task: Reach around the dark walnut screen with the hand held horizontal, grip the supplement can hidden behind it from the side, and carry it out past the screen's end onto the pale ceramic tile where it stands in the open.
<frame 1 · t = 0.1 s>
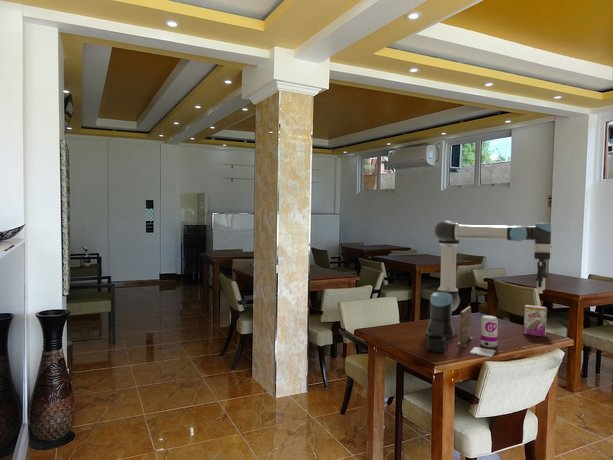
hand: (540, 291, 238), 28 cm above the table, tool pointing down, fingers open, 13 cm apart
tile: (482, 352, 223), on the table
screen: (465, 342, 240), on the table
supplement can: (488, 345, 235), on the table
candy bar box: (534, 335, 256), on the table
mug: (438, 352, 224), on the table
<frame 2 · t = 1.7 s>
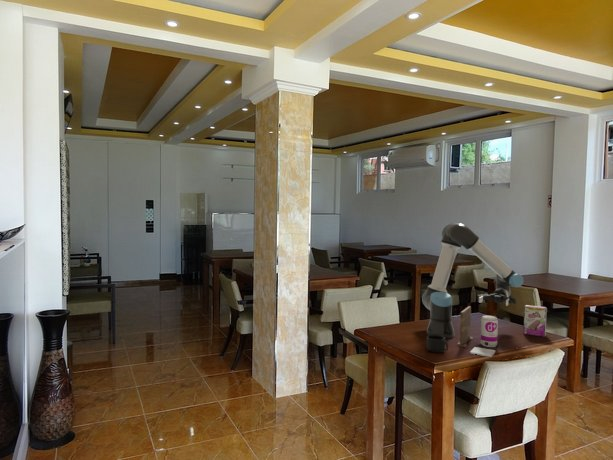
hand: (493, 301, 242), 22 cm above the table, tool horizontal, fingers open, 13 cm apart
nothing on the table moved.
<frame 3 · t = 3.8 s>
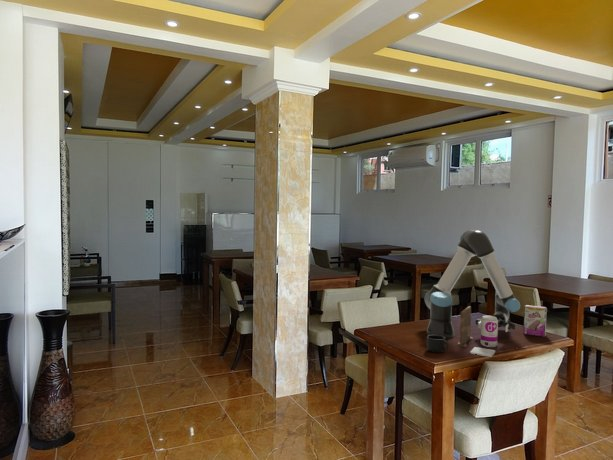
hand: (492, 327, 239), 8 cm above the table, tool horizontal, fingers open, 13 cm apart
nothing on the table moved.
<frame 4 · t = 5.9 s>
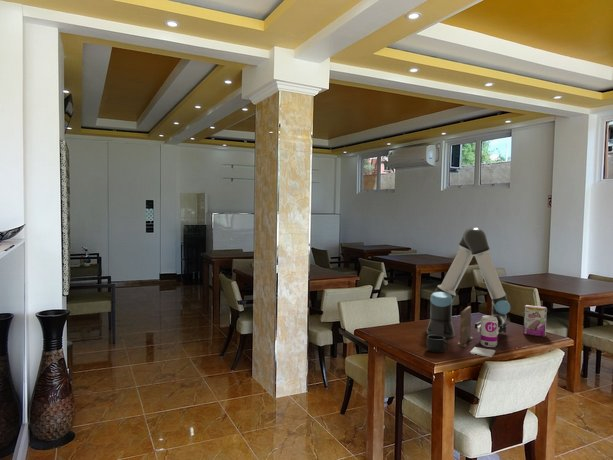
hand: (487, 331, 231), 9 cm above the table, tool horizontal, fingers closed on supplement can, 8 cm apart
supplement can: (488, 345, 235), on the table, touching gripper
everything else where it was.
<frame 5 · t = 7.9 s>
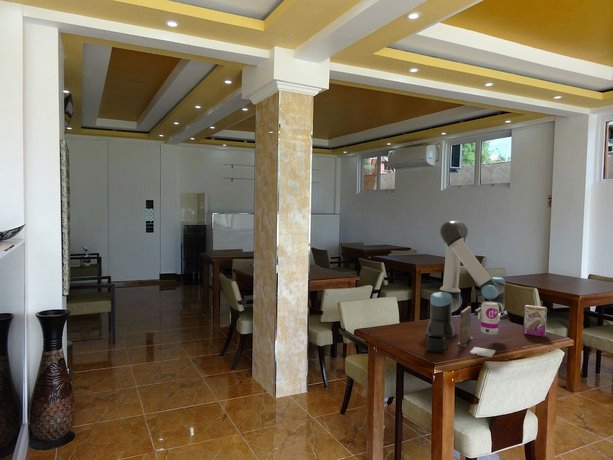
hand: (488, 317, 221), 18 cm above the table, tool horizontal, fingers closed on supplement can, 8 cm apart
supplement can: (489, 332, 225), point 9 cm above the table, touching gripper
everything else where it was.
when the fingers open (10 cm above the table, at t = 10.1 s): supplement can stays where it is, resting on tile.
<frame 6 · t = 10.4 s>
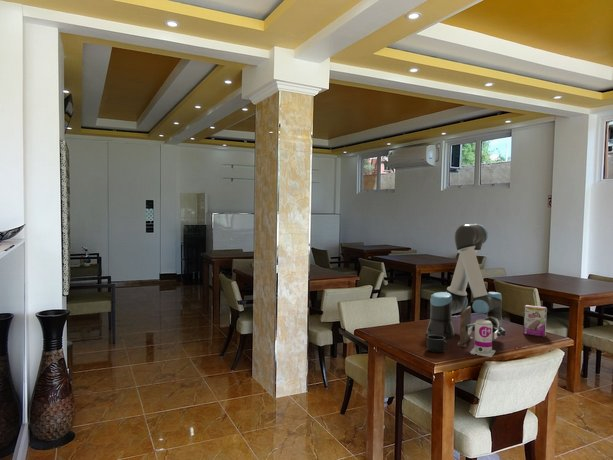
hand: (481, 333, 219), 10 cm above the table, tool horizontal, fingers open, 11 cm apart
supplement can: (482, 351, 223), point 1 cm above the table, touching tile
everything else where it was.
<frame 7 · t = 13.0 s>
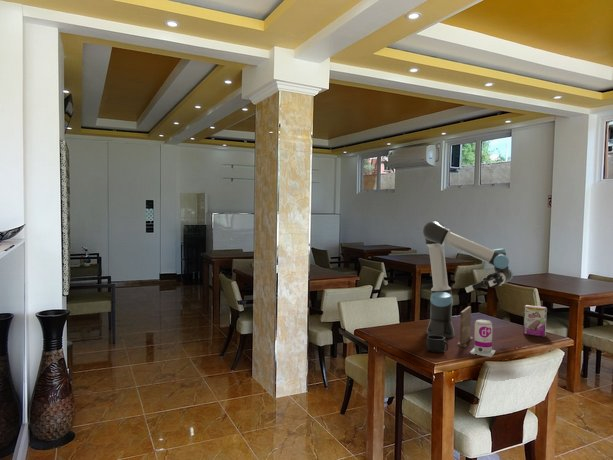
hand: (477, 287, 234), 31 cm above the table, tool horizontal, fingers open, 13 cm apart
nothing on the table moved.
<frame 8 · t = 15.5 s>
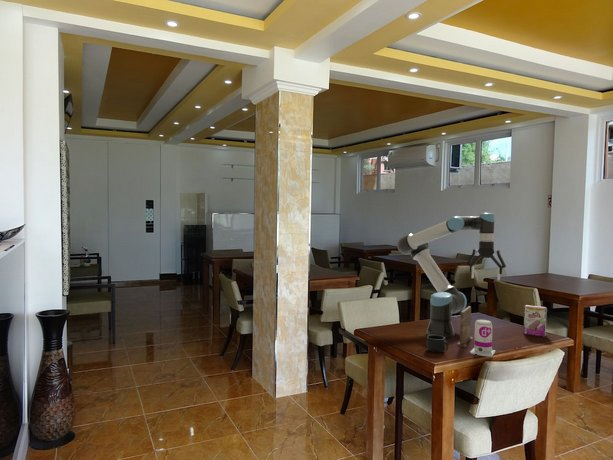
hand: (485, 279, 248), 33 cm above the table, tool pointing down, fingers open, 13 cm apart
nothing on the table moved.
at the end: supplement can inside the target area on the tile (0.0 cm from its centre), point 0.6 cm above the tile's base; supplement can tilted 0°; the gripper is holding nothing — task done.
